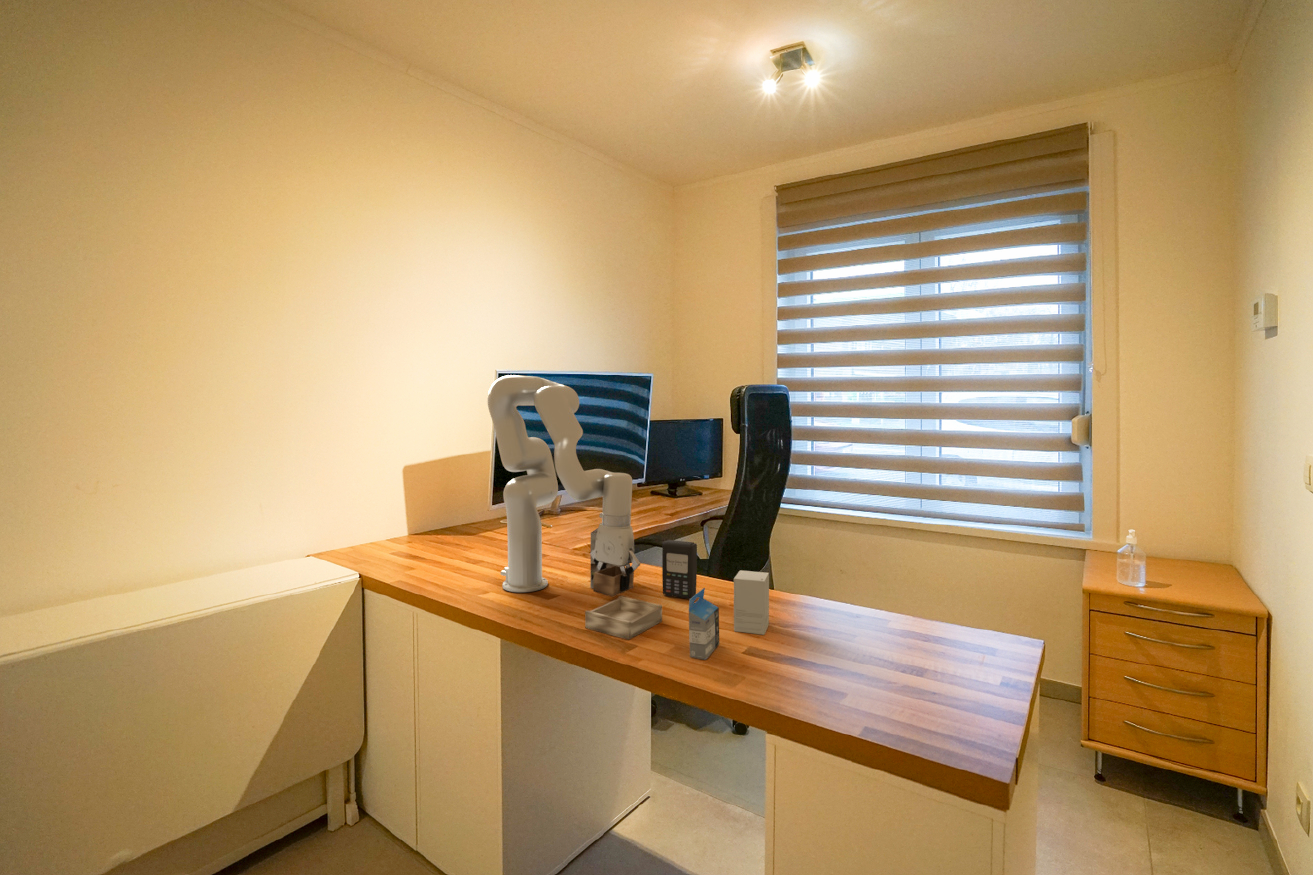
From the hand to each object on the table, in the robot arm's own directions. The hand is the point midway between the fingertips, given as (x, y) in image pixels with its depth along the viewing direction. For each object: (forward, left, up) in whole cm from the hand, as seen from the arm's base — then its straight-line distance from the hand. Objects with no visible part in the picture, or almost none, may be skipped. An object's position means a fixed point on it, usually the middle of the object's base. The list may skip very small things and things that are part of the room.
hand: (613, 586), depth 160 cm
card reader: (+12, +13, -4) cm, 18 cm away
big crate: (+12, -12, -4) cm, 17 cm away
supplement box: (+38, +3, -4) cm, 39 cm away
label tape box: (+35, -14, -4) cm, 38 cm away
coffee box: (-11, +10, -4) cm, 15 cm away
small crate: (0, 0, -1) cm, 1 cm away
